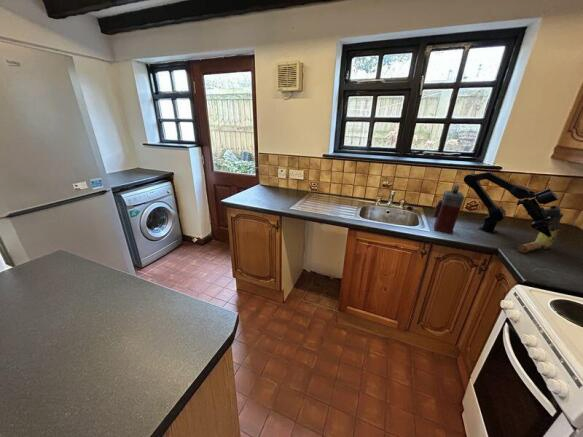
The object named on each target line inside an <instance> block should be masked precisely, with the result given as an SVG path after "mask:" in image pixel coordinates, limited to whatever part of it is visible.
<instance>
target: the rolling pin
mask: <svg viewBox="0 0 583 437" xmlns="http://www.w3.org/2000/svg"><path fill="white" fill-rule="evenodd" d="M540 249H542V248H541V244H540V243H539V242H535V241H532V242H528V243H525V244H519V245H518V247H517V251H519V252H520V253H523V254H524V253H525V254H526V253H528V252H533V251H536V250H540Z"/></svg>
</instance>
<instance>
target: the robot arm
mask: <svg viewBox="0 0 583 437" xmlns="http://www.w3.org/2000/svg"><path fill="white" fill-rule="evenodd" d="M484 180H487V181H489V182H491V183H492V184H495V185H497V186H499V187H501V188H502V189H505V191H507V192H508V193H510V195H512V196H513V197H514V198H516V199H518V200H517V203H516V206H520V205H521V206H522V207H523V208H524V209H525V211H526V214H527V215H528V216H530V218H531V221H532V222H531V224H530V227H531V228H532V229H533V230H536V231H537V232H541V233H543V234H545V235H546V236H548V237H552V235H551V233H550V230H549V228H548V226H549V224H550V223H549V222H548V221H549V219H550V217H551V216H560V214H561V213H562V212H561V208H560V207H557V206H556V205H551V206H550V207H549V208H544V207H543V206H541V205H544V206H545V205H548V204H550V203H553V202H556V201H558V200H559V197H558V196H557V194H556V193H555V192H554V191H553V190H552V189H551V188H546V189H544V190H542V191H540V192H537V191H533V190H530V188H528V187H526V186H523V185H520V184H516V183H512V182H510V180H507V179H505V178H503V177H501V176H499V175H497V174H496V173H494V172H492V171H486V172H481V173H473V172H472V173H469V174H467V175H465V176H464V177H463V182H464V183H465V185H467V186H468V187H469V188H470V189H472V190H473V191H474V193H475V194H476V196H477V197H478V198H479V199H480V201H481V202H482V203H483V205H484V206H485V207H486V209H487V213H488V215H487V216H486V217H485V218H484V222H483V225H482V226H481V227H479V228H478V229H479V230H482V231H484V232H486V233H489V234H492V233H497V230H496V227H497V224H498V223H499V222H501V221H503V219H505V218H506V216H507V213H506V212H507V211H506V210H505V209H504V208H503V206H502V205H499V206H498V205H497V204H496V203H495V202H494V201H493V199H492V198H491V197H490V195H489V194H488V193H487V191H486V190H485V188H484V187H483V186H482V183H481V181H484Z"/></svg>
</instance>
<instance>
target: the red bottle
mask: <svg viewBox="0 0 583 437" xmlns="http://www.w3.org/2000/svg"><path fill="white" fill-rule="evenodd" d="M459 190H460V185H459V184H454V185H453V187H452V190H444V192H443V195H442V198H441V199H438V201H437V203H436V204H435V208H434V211H433V218H435V221H434V224H433V230H434V232H437V233H443V234H447V235H452V234H453V231H454V229H455V225H456V223H457V220H458V217H459V214H460V212H461V211H460V210H461V208H462V205H463V204H464V203H463V202H464V199H465V196H464V194H463V193H462V192H460V191H459Z"/></svg>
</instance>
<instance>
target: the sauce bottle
mask: <svg viewBox="0 0 583 437" xmlns="http://www.w3.org/2000/svg"><path fill="white" fill-rule="evenodd" d="M563 217H564V213H562V212H561V214H560V216H551V217H549V218H550V219H549V221H548V222H549V223H550V224H549V226H548V228H549V230H550V233H551V235H552V237H548V236H546V235H545V234H543V233H541V232H540V231H538V234H537V236H536V238H535V241H534V242H539V243H540V244H541V248H540V249H542V250H548V249H550V247H551V246H552V244H553V242H554V241H555V239H556V237H557V234H558V233H559V231H560V228H561V227H560V225H561V223H560V221H561V219H562V218H563Z"/></svg>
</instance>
